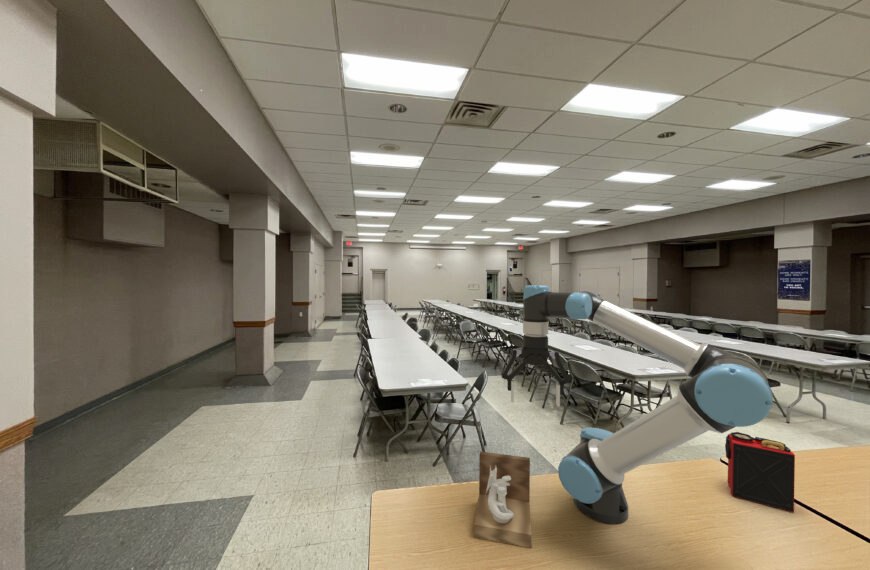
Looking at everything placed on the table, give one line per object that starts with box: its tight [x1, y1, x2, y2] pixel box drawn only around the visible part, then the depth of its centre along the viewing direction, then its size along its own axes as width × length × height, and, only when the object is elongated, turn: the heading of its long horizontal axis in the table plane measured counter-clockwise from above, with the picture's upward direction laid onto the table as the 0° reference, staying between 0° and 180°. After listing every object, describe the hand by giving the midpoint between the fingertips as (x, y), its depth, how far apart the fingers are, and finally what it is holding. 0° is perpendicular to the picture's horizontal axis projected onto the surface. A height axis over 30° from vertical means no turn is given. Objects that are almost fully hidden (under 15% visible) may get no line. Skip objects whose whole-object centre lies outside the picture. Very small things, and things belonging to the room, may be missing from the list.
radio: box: [724, 431, 796, 513], centre depth 108 cm, size 16×10×20 cm, turn 58°
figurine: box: [485, 465, 514, 523], centre depth 94 cm, size 11×8×12 cm
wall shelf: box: [473, 451, 533, 549], centre depth 95 cm, size 15×15×16 cm
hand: (534, 403), depth 103 cm, fingers open, 13 cm apart
